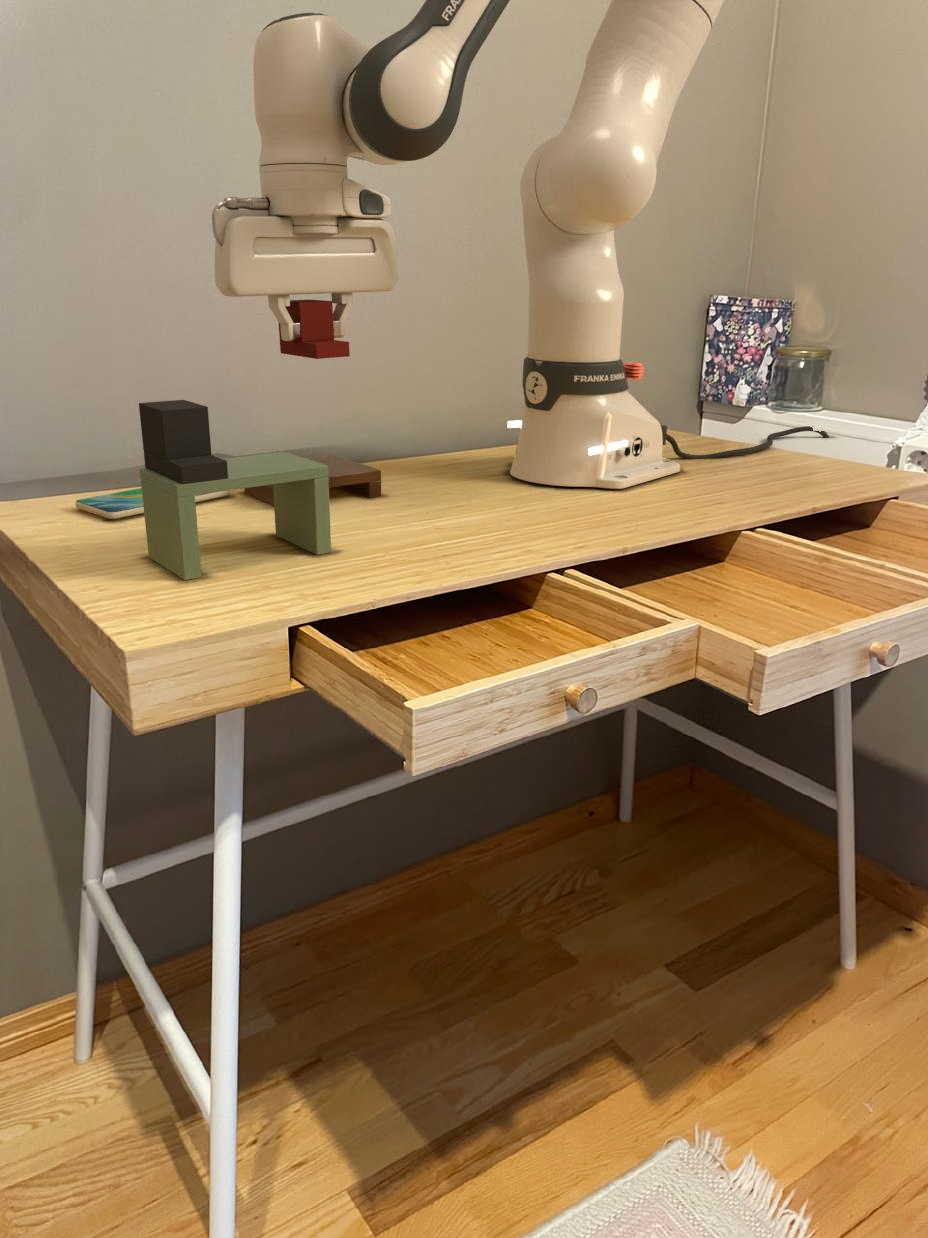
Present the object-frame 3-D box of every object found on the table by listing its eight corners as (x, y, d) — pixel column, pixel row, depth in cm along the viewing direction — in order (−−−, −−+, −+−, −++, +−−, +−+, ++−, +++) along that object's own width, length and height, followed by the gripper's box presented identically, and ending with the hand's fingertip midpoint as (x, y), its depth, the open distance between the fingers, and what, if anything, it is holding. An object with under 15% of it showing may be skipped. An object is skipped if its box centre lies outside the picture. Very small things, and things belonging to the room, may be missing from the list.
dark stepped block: (189, 462, 86) (183, 399, 84) (228, 478, 80) (223, 411, 78) (144, 467, 83) (138, 402, 82) (182, 484, 78) (175, 415, 76)
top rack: (289, 533, 94) (285, 451, 91) (331, 552, 88) (328, 465, 85) (148, 557, 86) (139, 468, 83) (184, 580, 80) (176, 485, 77)
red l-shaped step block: (312, 350, 109) (309, 299, 107) (349, 356, 103) (347, 301, 101) (280, 353, 106) (276, 300, 104) (316, 358, 100) (313, 303, 98)
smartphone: (231, 488, 108) (110, 513, 97) (232, 496, 108) (111, 521, 97) (192, 477, 112) (71, 500, 101) (192, 485, 112) (72, 508, 101)
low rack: (335, 480, 117) (335, 455, 116) (381, 496, 109) (381, 469, 108) (244, 493, 110) (242, 466, 109) (286, 510, 102) (285, 482, 101)
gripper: (224, 194, 91) (237, 347, 96) (404, 199, 102) (407, 335, 107) (196, 197, 95) (210, 342, 100) (371, 202, 107) (376, 332, 112)
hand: (314, 338), depth 104 cm, fingers closed on red l-shaped step block, 4 cm apart
